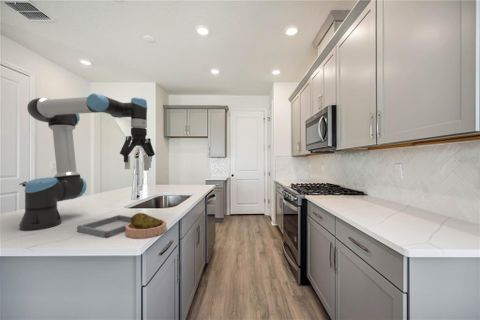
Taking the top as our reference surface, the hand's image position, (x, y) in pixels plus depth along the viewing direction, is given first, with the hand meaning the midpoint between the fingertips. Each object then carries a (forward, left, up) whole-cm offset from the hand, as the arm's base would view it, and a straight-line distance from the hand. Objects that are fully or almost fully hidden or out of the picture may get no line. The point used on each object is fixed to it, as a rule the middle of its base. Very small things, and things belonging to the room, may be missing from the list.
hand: (138, 168), depth 111 cm
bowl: (+14, -8, -29) cm, 33 cm away
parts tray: (-5, -10, -29) cm, 31 cm away
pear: (+14, -8, -28) cm, 33 cm away
